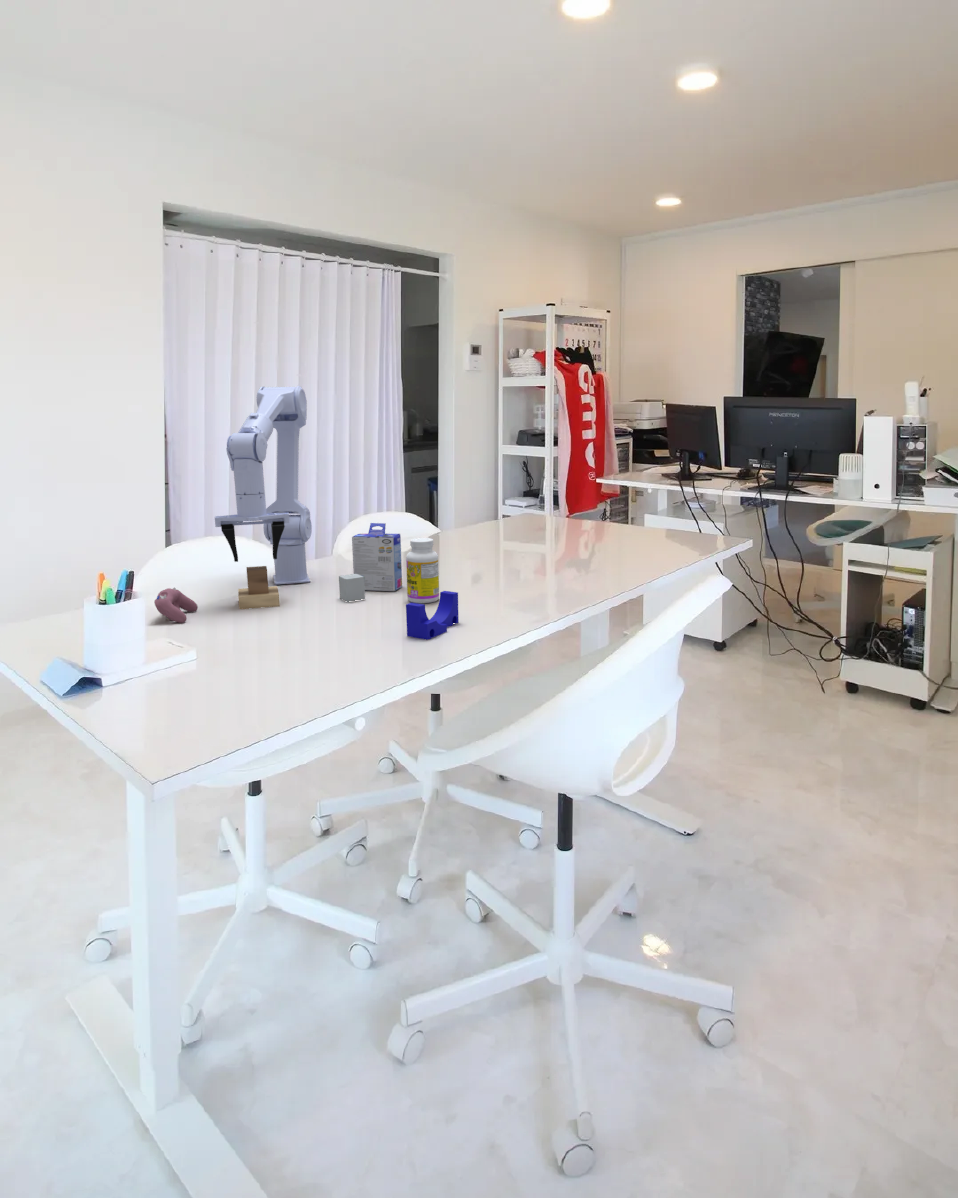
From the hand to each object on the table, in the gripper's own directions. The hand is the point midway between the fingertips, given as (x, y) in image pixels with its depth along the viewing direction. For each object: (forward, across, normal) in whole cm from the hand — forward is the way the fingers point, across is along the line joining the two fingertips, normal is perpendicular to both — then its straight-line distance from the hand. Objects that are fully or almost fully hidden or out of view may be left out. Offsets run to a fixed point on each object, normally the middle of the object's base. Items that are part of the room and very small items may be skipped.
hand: (255, 559), depth 166 cm
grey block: (+9, +19, -3) cm, 21 cm away
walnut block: (+7, 0, 0) cm, 7 cm away
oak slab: (+10, 0, 0) cm, 10 cm away
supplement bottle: (+10, +33, -9) cm, 36 cm away
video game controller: (+10, -16, -6) cm, 20 cm away
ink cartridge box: (+10, +26, +5) cm, 28 cm away
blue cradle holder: (+10, +30, -32) cm, 45 cm away
